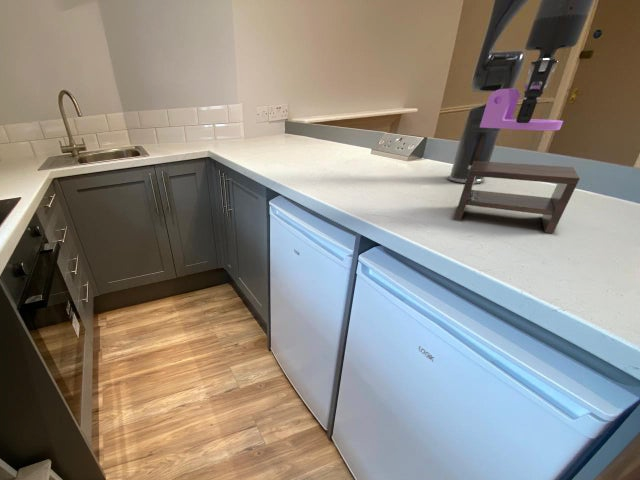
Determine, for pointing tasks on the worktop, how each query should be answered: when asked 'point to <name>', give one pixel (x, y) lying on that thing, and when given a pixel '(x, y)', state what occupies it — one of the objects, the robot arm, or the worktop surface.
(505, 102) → the bracket
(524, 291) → the worktop surface
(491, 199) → the shelf
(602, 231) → the worktop surface
